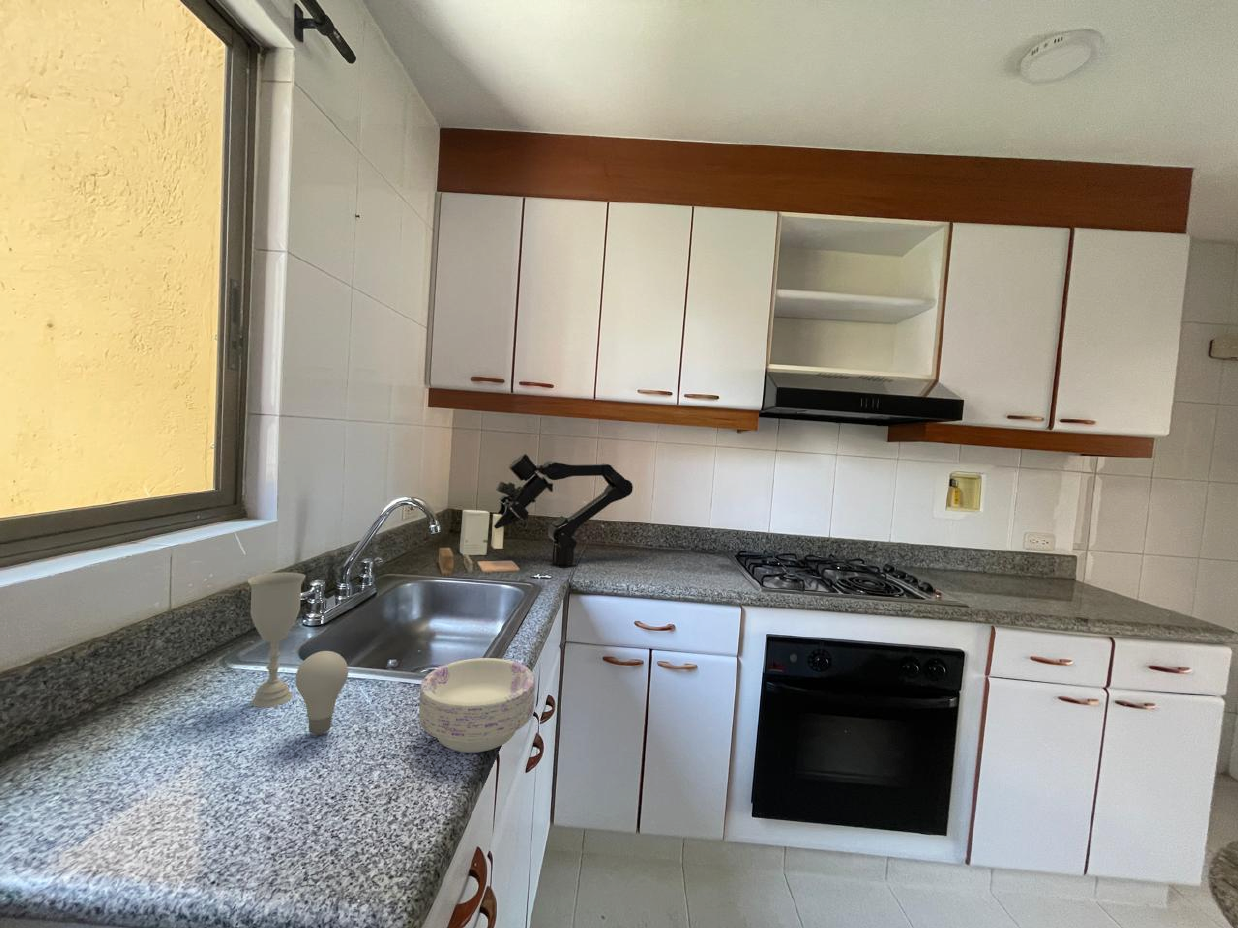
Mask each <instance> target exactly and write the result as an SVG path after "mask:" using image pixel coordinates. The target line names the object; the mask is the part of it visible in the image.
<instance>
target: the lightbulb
mask: <svg viewBox="0 0 1238 928" xmlns="http://www.w3.org/2000/svg"><path fill="white" fill-rule="evenodd" d="M347 663H348V662H347V661H346V660H345V658H344V657H343V656H341V654H339V653H337V652H335V651H330V650H322V651H318V652H314V653H313V654H311V655H310V656H308V657H306V658H305V659H304V660H303V661H302V662H301V664H300V665H299V666H298V668H297V670H296V673H295V679H294V681H295V687H296V689H297V691H298V693H299V694H300V696H301V698H302V699H303V701H304V704H305V707H306V717H307V719H308V732H309V733H310V734H312V735H315V736H316V737H317V736H323V735H324V733H326V732H328V731H329V730H330V729H331V727H332V720H333V719H332V717H333V714H334V712H335V707H336V701H337V699H338V698H339V697H338V696H339V694H340V693H341V691H342V690H343V689H344V686H345V685H346V683H347V680H348V677H349V668H348V667H349V666H348V664H347Z"/></svg>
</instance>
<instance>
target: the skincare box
mask: <svg viewBox="0 0 1238 928" xmlns="http://www.w3.org/2000/svg"><path fill="white" fill-rule="evenodd" d="M461 518H462V519H461V530H460V531H461V532H460V543H459V553H460V554H461V555H462V556H463V557H464V554H468V556H485V555H487V551H488V550H487V549H488V541H489V540H488V537H489V528H490V527H489V525H490V512H489V511H488V510H487V511H486V510H476V509H463V510H462V517H461Z"/></svg>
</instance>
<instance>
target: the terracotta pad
mask: <svg viewBox="0 0 1238 928" xmlns="http://www.w3.org/2000/svg"><path fill="white" fill-rule="evenodd" d="M477 565H478V566H479V568H480V569H481V571H482V573H487V572H490V573H491V572H517V571H518V572H519V571H520V568H519V566H517V564H516V563H515V562H514V561H513V560H490V561H489V560H486V561H485V560H484V561H483V560H482V561H477Z"/></svg>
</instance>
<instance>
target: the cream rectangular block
mask: <svg viewBox="0 0 1238 928" xmlns="http://www.w3.org/2000/svg"><path fill="white" fill-rule="evenodd" d="M501 516H502V514H497V513H493V514H492V521H493V525H492V524H491V525H492V527H491V530H492V531H491V544H490V545H491V547H492V548H493V549H494V550H496V549H497V550H499V549H503V548H504V547H503V543H504V526H502V527H500V528H497V529H496V528H495V527H494V525H495V524H496V523H497V521H498V520H499V519H500V518H501Z"/></svg>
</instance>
